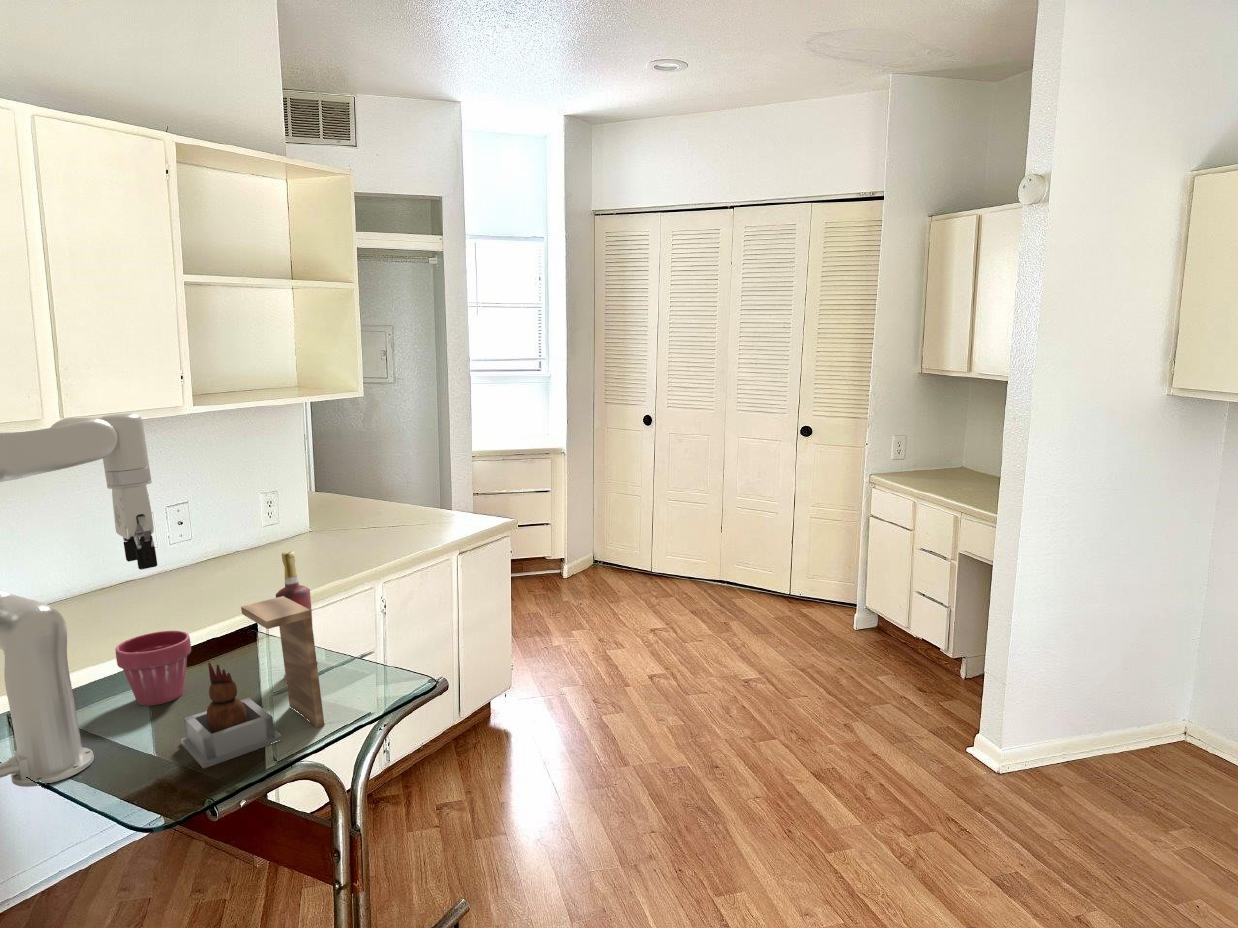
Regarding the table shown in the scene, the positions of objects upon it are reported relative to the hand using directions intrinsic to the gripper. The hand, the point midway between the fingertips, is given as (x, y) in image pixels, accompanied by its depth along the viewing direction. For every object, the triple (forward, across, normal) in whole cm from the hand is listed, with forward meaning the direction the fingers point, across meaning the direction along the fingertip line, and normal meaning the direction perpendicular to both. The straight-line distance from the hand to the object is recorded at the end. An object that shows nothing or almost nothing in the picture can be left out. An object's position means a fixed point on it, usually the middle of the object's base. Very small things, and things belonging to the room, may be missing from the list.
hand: (141, 563), depth 167 cm
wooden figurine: (+32, +19, +6) cm, 38 cm away
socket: (+33, +20, +6) cm, 39 cm away
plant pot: (+34, -16, +3) cm, 37 cm away
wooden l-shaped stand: (+33, +20, +18) cm, 43 cm away
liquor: (+34, -5, +30) cm, 45 cm away
